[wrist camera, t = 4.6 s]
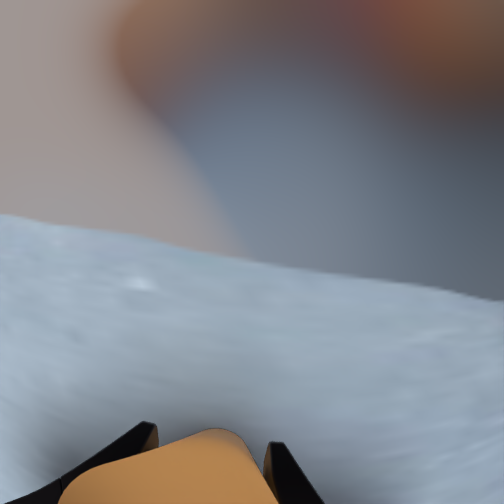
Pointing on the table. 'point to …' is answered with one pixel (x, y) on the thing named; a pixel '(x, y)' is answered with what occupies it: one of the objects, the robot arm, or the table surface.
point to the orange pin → (177, 475)
